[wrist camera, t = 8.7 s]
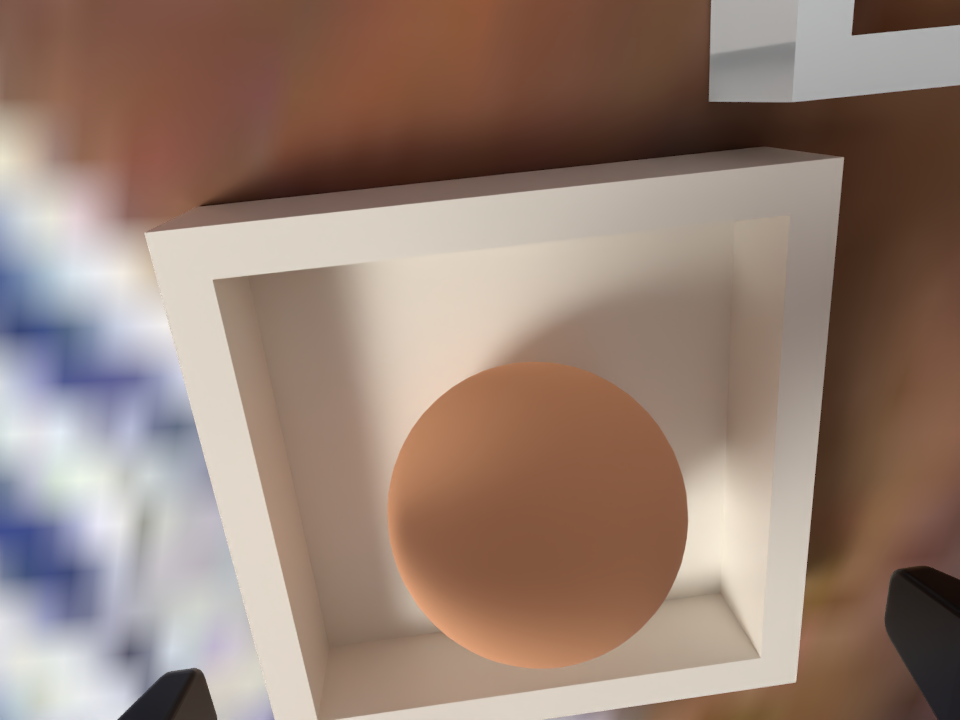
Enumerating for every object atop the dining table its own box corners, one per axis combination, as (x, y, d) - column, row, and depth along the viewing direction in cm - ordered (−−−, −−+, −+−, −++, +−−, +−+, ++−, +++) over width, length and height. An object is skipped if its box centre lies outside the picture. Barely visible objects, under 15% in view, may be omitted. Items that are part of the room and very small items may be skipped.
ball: (635, 527, 15) (736, 716, 11) (407, 559, 15) (408, 768, 10) (631, 309, 13) (752, 421, 9) (373, 340, 13) (354, 473, 8)
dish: (764, 146, 13) (843, 156, 11) (741, 598, 17) (795, 682, 14) (196, 207, 13) (144, 232, 10) (304, 660, 16) (284, 757, 14)
